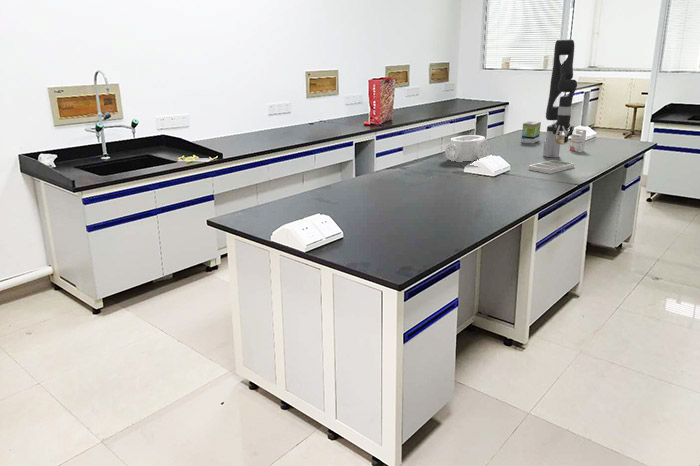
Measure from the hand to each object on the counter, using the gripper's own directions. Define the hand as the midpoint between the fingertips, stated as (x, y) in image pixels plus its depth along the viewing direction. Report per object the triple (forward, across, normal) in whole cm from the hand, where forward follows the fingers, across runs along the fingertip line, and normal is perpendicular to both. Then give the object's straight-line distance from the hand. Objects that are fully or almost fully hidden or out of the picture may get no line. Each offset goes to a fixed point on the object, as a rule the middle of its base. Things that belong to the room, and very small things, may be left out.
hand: (561, 142), depth 332 cm
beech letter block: (+1, 0, 0) cm, 1 cm away
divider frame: (+15, 0, -8) cm, 17 cm away
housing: (+16, -53, -22) cm, 60 cm away
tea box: (+16, -64, +61) cm, 90 cm away
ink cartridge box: (+16, -20, +53) cm, 59 cm away
